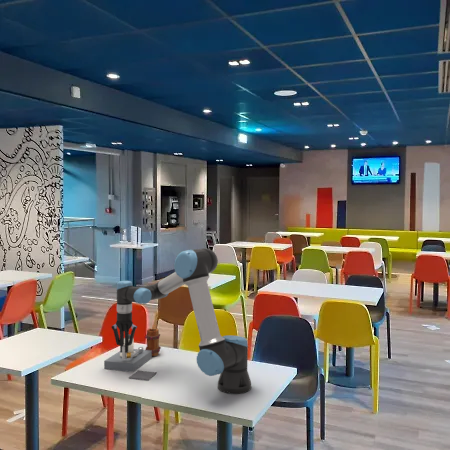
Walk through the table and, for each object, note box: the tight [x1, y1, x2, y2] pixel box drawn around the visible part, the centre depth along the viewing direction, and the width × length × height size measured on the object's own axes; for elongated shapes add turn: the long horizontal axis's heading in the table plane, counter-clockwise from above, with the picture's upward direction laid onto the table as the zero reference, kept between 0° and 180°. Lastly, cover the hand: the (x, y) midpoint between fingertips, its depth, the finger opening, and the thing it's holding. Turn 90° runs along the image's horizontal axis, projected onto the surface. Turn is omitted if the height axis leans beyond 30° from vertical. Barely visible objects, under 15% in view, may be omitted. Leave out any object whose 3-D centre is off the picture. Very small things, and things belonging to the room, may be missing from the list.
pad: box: [128, 369, 157, 381], centre depth 229 cm, size 10×10×1 cm
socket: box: [103, 348, 153, 373], centre depth 247 cm, size 22×16×5 cm
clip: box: [127, 346, 144, 359], centre depth 244 cm, size 18×3×3 cm, turn 168°
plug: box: [120, 333, 138, 357], centre depth 247 cm, size 9×9×15 cm
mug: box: [144, 324, 162, 357], centre depth 263 cm, size 15×8×15 cm, turn 179°
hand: (124, 358), depth 238 cm, fingers closed
